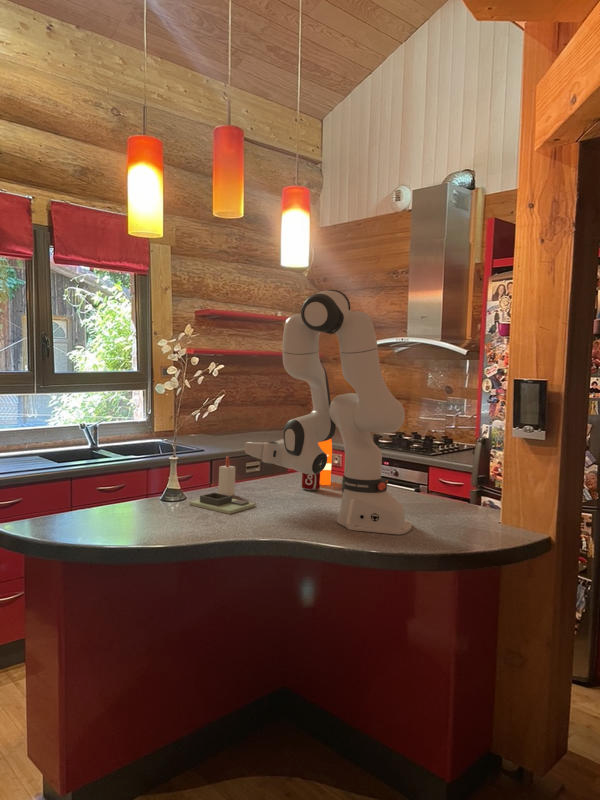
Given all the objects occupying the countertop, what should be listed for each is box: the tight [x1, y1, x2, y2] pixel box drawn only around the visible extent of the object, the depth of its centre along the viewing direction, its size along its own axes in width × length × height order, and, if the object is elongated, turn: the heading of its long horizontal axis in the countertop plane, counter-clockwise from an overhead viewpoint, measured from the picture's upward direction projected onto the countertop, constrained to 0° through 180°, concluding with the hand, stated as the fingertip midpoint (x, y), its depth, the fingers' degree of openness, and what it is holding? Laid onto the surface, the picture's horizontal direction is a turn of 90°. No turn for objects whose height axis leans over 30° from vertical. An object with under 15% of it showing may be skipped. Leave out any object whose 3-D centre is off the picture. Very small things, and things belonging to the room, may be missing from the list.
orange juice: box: [318, 438, 333, 486], centre depth 238 cm, size 8×9×20 cm
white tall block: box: [217, 456, 236, 497], centre depth 211 cm, size 5×4×14 cm
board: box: [188, 492, 256, 515], centre depth 196 cm, size 17×13×3 cm
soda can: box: [301, 473, 321, 492], centre depth 225 cm, size 7×7×12 cm
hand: (256, 444), depth 206 cm, fingers open, 8 cm apart
